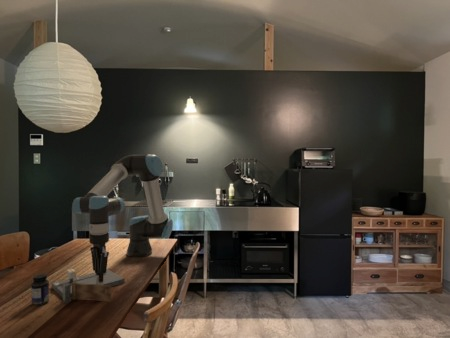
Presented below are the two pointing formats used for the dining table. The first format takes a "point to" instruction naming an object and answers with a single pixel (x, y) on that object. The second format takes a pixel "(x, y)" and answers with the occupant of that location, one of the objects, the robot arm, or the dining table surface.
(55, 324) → the dining table surface
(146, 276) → the dining table surface
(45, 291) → the pill bottle
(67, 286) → the hinge bracket
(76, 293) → the door
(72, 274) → the fader knob
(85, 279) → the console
